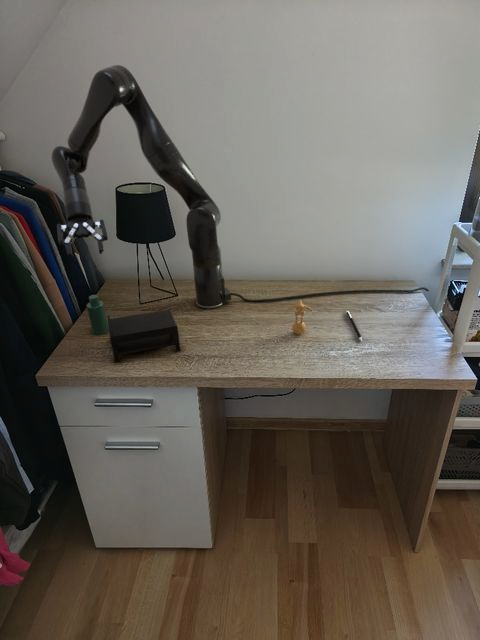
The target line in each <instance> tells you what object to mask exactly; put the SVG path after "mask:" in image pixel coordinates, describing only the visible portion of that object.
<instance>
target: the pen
mask: <svg viewBox="0 0 480 640" xmlns="http://www.w3.org/2000/svg"><path fill="white" fill-rule="evenodd" d="M346 316H347V317H348V320H349V321H350V323H351V326H352V328H353V330H354V332H355V334H356V336H357V338H358V340H359V341H360V342H363V337H362V335H361V333H360V331H359V329H358V327H357V325H356V323H355V321H354V318H353V317H352V315H351V313H350V311H349V310H346Z"/></svg>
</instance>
